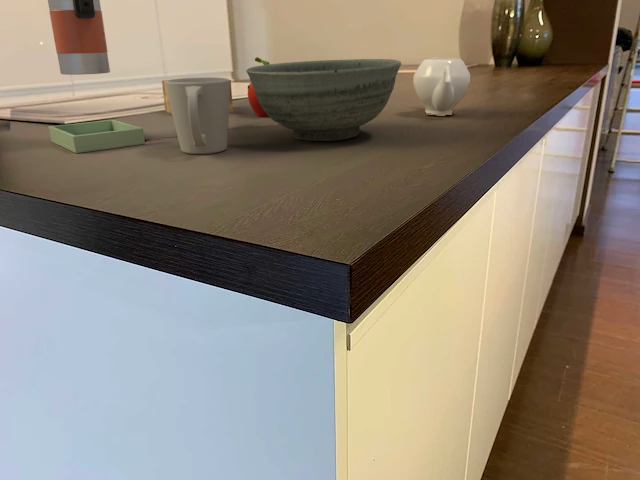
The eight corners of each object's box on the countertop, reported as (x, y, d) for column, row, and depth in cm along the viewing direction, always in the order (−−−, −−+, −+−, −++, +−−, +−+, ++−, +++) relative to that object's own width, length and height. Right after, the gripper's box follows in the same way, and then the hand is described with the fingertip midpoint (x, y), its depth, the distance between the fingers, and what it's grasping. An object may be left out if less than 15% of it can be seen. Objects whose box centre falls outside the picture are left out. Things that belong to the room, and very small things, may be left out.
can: (54, 73, 71) (37, -19, 67) (101, 71, 74) (87, -17, 70) (68, 75, 66) (51, -24, 62) (117, 72, 70) (104, -21, 66)
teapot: (415, 123, 85) (418, 61, 82) (408, 107, 104) (411, 56, 101) (476, 123, 84) (482, 61, 81) (459, 107, 103) (463, 56, 100)
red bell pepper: (296, 118, 93) (294, 56, 89) (267, 123, 88) (264, 58, 84) (265, 114, 97) (262, 56, 94) (237, 119, 93) (232, 57, 89)
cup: (236, 143, 71) (232, 76, 68) (230, 159, 62) (225, 83, 59) (178, 145, 71) (171, 78, 68) (164, 161, 62) (154, 84, 59)
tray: (51, 141, 75) (48, 126, 74) (115, 133, 80) (113, 119, 80) (76, 153, 67) (73, 136, 66) (145, 143, 72) (143, 128, 72)
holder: (165, 114, 99) (161, 80, 97) (209, 110, 104) (206, 77, 102) (188, 119, 92) (184, 83, 90) (233, 114, 98) (230, 79, 96)
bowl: (429, 140, 72) (434, 61, 68) (288, 157, 63) (285, 68, 59) (349, 120, 89) (349, 57, 85) (229, 132, 80) (223, 61, 76)
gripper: (1, -130, 65) (30, 20, 71) (32, -162, 55) (62, 16, 61) (66, -120, 69) (88, 20, 75) (106, -148, 59) (127, 17, 65)
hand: (76, 18), depth 68 cm, fingers closed on can, 6 cm apart
